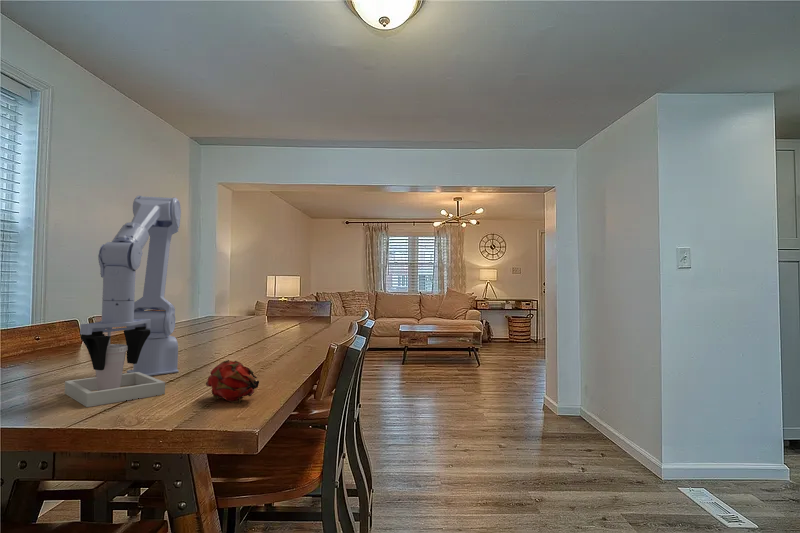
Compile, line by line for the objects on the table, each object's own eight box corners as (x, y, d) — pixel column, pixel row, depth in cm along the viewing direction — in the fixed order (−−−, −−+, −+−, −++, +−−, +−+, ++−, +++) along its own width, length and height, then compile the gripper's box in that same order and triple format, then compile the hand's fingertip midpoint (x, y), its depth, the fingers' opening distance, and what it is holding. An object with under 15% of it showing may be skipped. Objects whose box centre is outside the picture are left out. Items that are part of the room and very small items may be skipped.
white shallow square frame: (138, 382, 107) (138, 371, 108) (164, 394, 98) (165, 382, 98) (64, 393, 97) (65, 381, 97) (86, 407, 88) (87, 393, 88)
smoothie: (82, 397, 95) (85, 326, 95) (101, 389, 101) (104, 323, 101) (115, 397, 95) (118, 327, 95) (132, 389, 101) (134, 324, 101)
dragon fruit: (214, 401, 100) (252, 419, 94) (187, 383, 94) (226, 402, 88) (237, 365, 104) (276, 381, 98) (213, 347, 98) (252, 362, 91)
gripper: (134, 298, 106) (132, 359, 106) (70, 300, 93) (67, 370, 92) (158, 299, 104) (156, 362, 103) (96, 302, 90) (93, 374, 90)
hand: (116, 366), depth 98 cm, fingers open, 7 cm apart
